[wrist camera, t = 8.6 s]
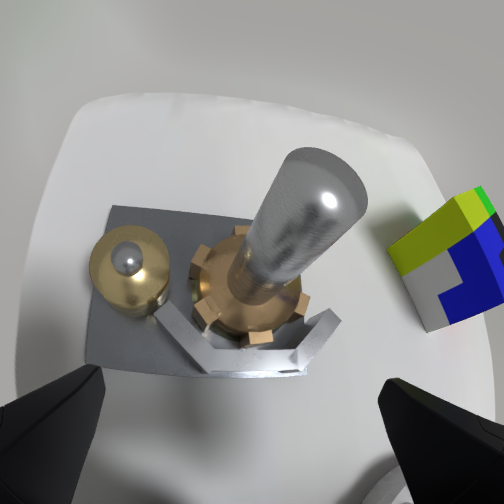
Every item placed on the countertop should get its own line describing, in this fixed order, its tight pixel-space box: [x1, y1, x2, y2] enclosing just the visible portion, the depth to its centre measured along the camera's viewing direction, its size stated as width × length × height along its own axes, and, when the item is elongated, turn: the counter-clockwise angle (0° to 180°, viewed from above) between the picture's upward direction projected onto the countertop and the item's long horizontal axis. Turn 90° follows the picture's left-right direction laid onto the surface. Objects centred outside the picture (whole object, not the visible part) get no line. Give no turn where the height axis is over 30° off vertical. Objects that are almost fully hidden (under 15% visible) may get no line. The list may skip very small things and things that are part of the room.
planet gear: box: [189, 147, 368, 349], centre depth 14 cm, size 8×7×12 cm
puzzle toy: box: [386, 186, 504, 333], centre depth 23 cm, size 10×10×10 cm
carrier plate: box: [85, 205, 341, 378], centre depth 17 cm, size 12×16×5 cm
